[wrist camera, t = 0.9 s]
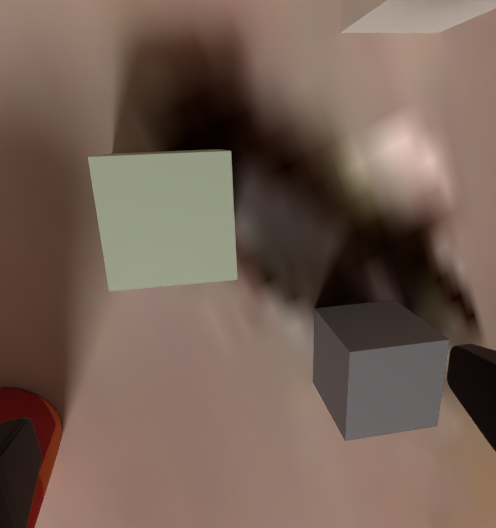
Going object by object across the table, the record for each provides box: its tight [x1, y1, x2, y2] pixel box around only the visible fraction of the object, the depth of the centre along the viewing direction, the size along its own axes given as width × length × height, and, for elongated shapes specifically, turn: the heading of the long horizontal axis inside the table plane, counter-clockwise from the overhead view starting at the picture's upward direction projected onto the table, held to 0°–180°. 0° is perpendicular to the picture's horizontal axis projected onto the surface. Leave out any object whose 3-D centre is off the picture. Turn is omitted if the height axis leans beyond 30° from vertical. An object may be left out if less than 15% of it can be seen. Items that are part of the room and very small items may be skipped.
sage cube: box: [88, 149, 237, 291], centre depth 17 cm, size 5×5×5 cm
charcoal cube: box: [313, 300, 449, 441], centre depth 21 cm, size 5×5×5 cm
